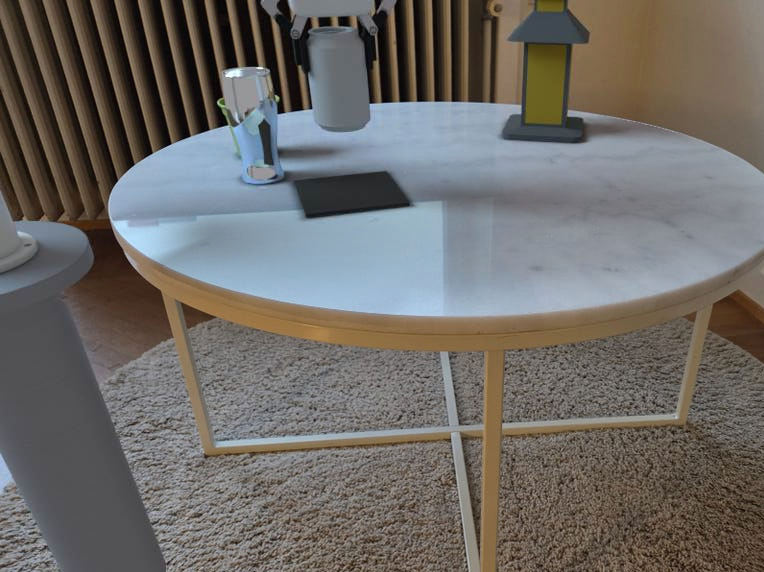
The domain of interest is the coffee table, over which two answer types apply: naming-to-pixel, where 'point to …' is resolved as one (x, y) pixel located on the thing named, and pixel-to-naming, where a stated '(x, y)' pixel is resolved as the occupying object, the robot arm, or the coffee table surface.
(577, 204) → the coffee table surface
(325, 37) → the can
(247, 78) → the beer glass
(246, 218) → the coffee table surface
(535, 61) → the lantern
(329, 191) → the mat
